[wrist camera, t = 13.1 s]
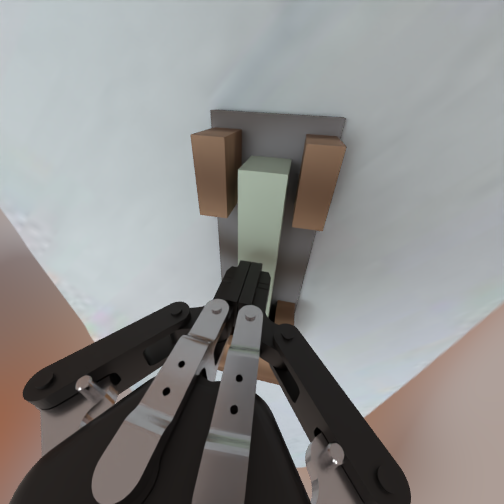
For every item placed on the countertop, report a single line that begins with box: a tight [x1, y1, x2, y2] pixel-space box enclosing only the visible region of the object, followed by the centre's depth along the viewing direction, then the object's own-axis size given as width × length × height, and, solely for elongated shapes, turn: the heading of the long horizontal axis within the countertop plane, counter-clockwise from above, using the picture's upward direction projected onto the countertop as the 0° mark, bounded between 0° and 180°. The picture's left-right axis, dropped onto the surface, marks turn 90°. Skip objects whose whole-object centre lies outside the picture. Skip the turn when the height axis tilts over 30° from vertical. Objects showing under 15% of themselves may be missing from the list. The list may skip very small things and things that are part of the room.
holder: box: [191, 110, 346, 385], centre depth 19 cm, size 24×9×8 cm, turn 178°
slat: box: [238, 156, 292, 318], centre depth 20 cm, size 20×3×4 cm, turn 178°
